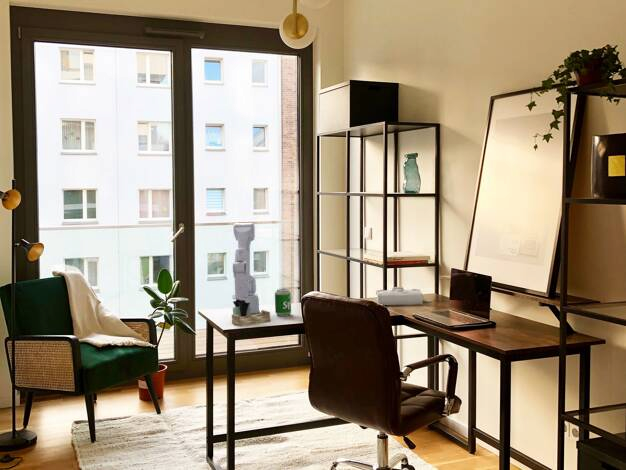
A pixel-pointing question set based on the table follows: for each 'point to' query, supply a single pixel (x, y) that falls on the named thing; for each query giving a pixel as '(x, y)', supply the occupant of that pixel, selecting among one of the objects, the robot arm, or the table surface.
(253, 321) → the track sill
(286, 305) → the soda can
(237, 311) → the door panel
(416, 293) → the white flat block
